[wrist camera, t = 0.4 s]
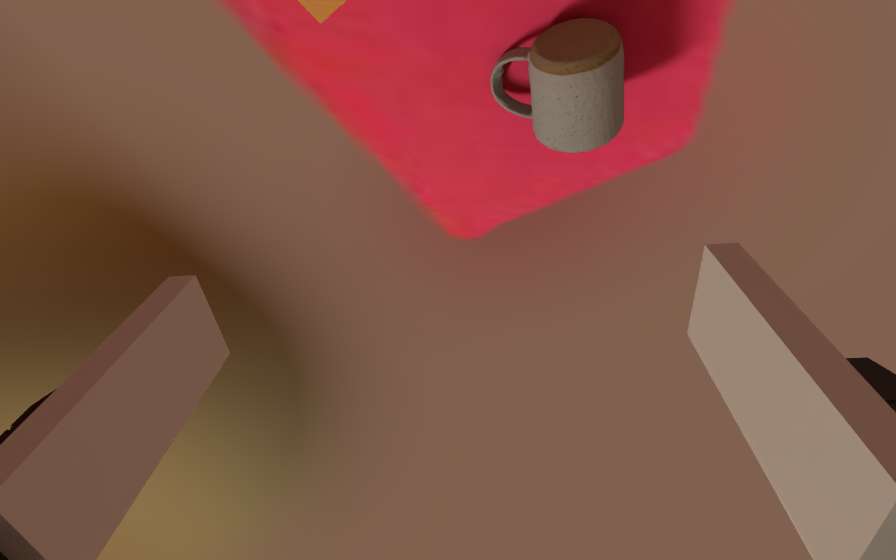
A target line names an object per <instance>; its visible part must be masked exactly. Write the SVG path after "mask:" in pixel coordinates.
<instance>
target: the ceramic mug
mask: <svg viewBox="0 0 896 560" xmlns="http://www.w3.org/2000/svg"><path fill="white" fill-rule="evenodd" d="M517 60H520V61H522V60H526V61H528V62H529V80H530V88H531V105H528V104H524V103H521V102H518V101H516V100H514V99H513V98H512V97H510V96H509V95H508V94H507V93H506V92H505V90H504V88H503V82H502V73H503V72H504V68H503V65H504V64H506V63H508V62H511V61H517ZM491 90H492V93H493V96H494V98H495V99H496V101H497V102H498V103H499V104H500V105H501V106H502V107H503V108H504V109H506V110H508V111H509V112H511V113H513V114H516V115H518V116H521V117H526V118H531V119H532V120H533V130H534V133H535V135H536V138H537V139H538V140H539V141H540V142H541V143H542V144H543V145H545V146H547V147H548V148H551V149H554V150H556V151H562V152H569V153H574V152H585V151H589V150H593V149H596V148H598V147H600V146H603V145H605V144H607V143H608V142H610V141H611V140H612V139H613V138H614V137H615V136H616V135H617V134H618V133H619V131H620V129H621V127H622V125H623V121H624V49H623V44H622V38H621V35H620V33H619V31H618V30H617V29H616V28H615V27H614V26H613V25H611V24H609V23H607V22H605V21H603V20H599V19H595V18H578V19H571V20H567V21H564V22H561V23H558V24H556V25H554V26H552V27H550V28H548V29H547V30H545V31H544V32H543V33H542V34H541V35H540V36H539V37H538V38H537V39H536V40H535V42H534V43H533V45H532V47H531V48H527V47H519V48H516V49H512V50H510V51H507V52H506V53H504V54H503V55H502V56H501V57H500V58H499V59H498V61H497V63H496V65H495V67H494V69H493V71H492V74H491Z"/></svg>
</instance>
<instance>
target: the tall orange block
mask: <svg viewBox="0 0 896 560" xmlns="http://www.w3.org/2000/svg"><path fill="white" fill-rule="evenodd" d="M298 1H299V2H300V3H301V4H302V5H303V6H304V7H305V8H306V9H307V10H308V11H309V12H310V13H311V14H312V15H313V16H314V17H315V18H316V19H317V20H318V21H319V22H320V23H322V22H323V21H324V20H325V19H326V18H327V17H329V16H330V15H331V14H332V13H333V12H334V11H335V10H336V9H337V8H339V7H340V6H341V5H342V4H343V3H344V2H345V1H346V0H298Z"/></svg>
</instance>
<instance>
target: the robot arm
mask: <svg viewBox="0 0 896 560" xmlns="http://www.w3.org/2000/svg"><path fill="white" fill-rule="evenodd" d="M687 334H688V336H689V338H690V340H691V342H692V343H693V345H694V346H695V349H696V351H697V352H698V354H699V356H700V358H701V359H702V361H703V363H704V365H705V367H706V368H707V370H708V372H709V374H710V376H711V377H712V379H713V381H714V383H715V384H716V386H717V388H718V390H719V392H720V394H721V395H722V397H723V399H724V401H725V402H726V404H727V406H728V408H729V410H730V411H731V413H732V415H733V417H734V419H735V420H736V422H737V424H738V426H739V427H740V429H741V431H742V433H743V435H744V436H745V438H746V440H747V442H748V444H749V445H750V447H751V449H752V451H753V453H754V454H755V456H756V458H757V460H758V461H759V463H760V465H761V467H762V469H763V470H764V472H765V474H766V476H767V478H768V479H769V481H770V483H771V485H772V487H773V488H774V490H775V492H776V494H777V495H778V497H779V499H780V501H781V503H782V505H783V506H784V508H785V510H786V512H787V513H788V515H789V517H790V519H791V521H792V522H793V524H794V526H795V528H796V530H797V531H798V533H799V535H800V537H801V539H802V540H803V542H804V544H805V546H806V547H807V549H808V551H809V553H810V555H811V556H812V558H813V560H896V374H894V373H892V372H891V371H889V370H887V369H886V368H884V367H882V366H881V365H879V364H877V363H876V362H874V361H872V360H871V359H869V358H845V357H844V356H843V355H842V354H841V353H840V352H839V351H838V350H837V349H836V348H835V347H834V345H833V344H832V343H831V342H830V341H829V340H828V339H827V338H826V337H825V336H824V335H823V334H822V333H821V331H820V330H819V329H818V328H817V327H816V326H815V325H814V324H813V323H812V322H811V321H810V320H809V318H808V317H807V316H806V315H805V314H804V313H803V312H802V311H801V310H800V309H799V308H798V307H797V306H796V305H795V303H794V302H793V301H792V300H791V299H790V298H789V297H788V296H787V295H786V294H785V293H784V292H783V290H782V289H781V288H780V287H779V286H778V285H777V284H776V283H775V282H774V281H773V280H772V279H771V278H770V276H769V275H768V274H767V273H766V272H765V271H764V270H763V269H762V268H761V267H760V266H759V265H758V264H757V262H756V261H755V260H754V259H753V258H752V257H751V256H750V255H749V254H748V253H747V252H746V251H745V250H744V248H743V247H742V246H741V245H740V244H739V243H728V244H711V245H705V248H704V253H703V258H702V263H701V268H700V273H699V278H698V283H697V288H696V293H695V298H694V303H693V308H692V313H691V318H690V323H689V328H688V333H687ZM229 354H230V352H229V350H228V348H227V346H226V343H225V341H224V339H223V336H222V334H221V332H220V330H219V328H218V325H217V323H216V321H215V318H214V316H213V314H212V312H211V309H210V307H209V305H208V303H207V300H206V298H205V296H204V294H203V291H202V289H201V287H200V284H199V282H198V280H197V278H196V276H195V275H194V276H178V277H168V278H167V279H166V280H165V281H164V283H162V284H161V285H160V287H158V288H157V289H156V290H155V291H154V292H153V294H151V295H150V296H149V297H148V298H147V299H146V300H145V301H144V302H143V303H142V304H141V305H140V306H139V307H138V308H137V309H136V310H135V311H134V312H133V313H132V314H131V315H130V316H129V317H128V318H127V319H126V320H125V321H124V322H123V323H122V324H121V325H120V326H119V327H118V328H117V329H116V330H115V331H114V332H113V333H112V334H111V335H110V336H109V337H108V338H107V339H106V340H105V341H104V342H103V343H102V344H101V345H100V346H99V347H98V348H97V349H96V350H95V351H94V352H93V353H92V354H91V355H90V356H89V357H88V358H87V359H86V360H85V361H84V362H83V363H82V364H81V365H80V366H79V367H78V368H77V369H76V370H75V371H74V372H73V373H72V374H71V375H70V376H69V377H68V378H67V379H66V380H65V381H64V382H63V383H62V384H61V385H60V386H59V387H58V388H57V389H55V390H54V391H53V392H51V393H49V394H48V395H46V396H45V397H43V398H42V399H40V400H39V401H38V402H36V403H35V404H33V405H32V406H30V407H29V408H28V409H27V410H26V411H25V412H24V413H23V414H22V415H21V416H20V417H19V418H18V419H17V420H16V421H15V422H14V423H13V424H12V425H11V429H10V430H6V431H5V432H4V433H3V434H2V435H1V436H0V560H96V559H97V557H98V556H99V554H100V553H101V551H102V550H103V548H104V547H105V545H106V543H107V542H108V540H109V539H110V537H111V536H112V534H113V533H114V531H115V530H116V528H117V527H118V525H119V524H120V522H121V520H122V519H123V517H124V516H125V514H126V513H127V511H128V510H129V508H130V507H131V505H132V503H133V502H134V500H135V499H136V497H137V496H138V494H139V492H140V491H141V489H142V488H143V486H144V485H145V483H146V482H147V480H148V479H149V477H150V476H151V474H152V473H153V471H154V470H155V468H156V467H157V465H158V463H159V462H160V460H161V459H162V457H163V456H164V454H165V453H166V451H167V450H168V448H169V446H170V445H171V443H172V442H173V440H174V438H175V437H176V436H177V434H178V433H179V431H180V429H181V428H182V426H183V425H184V423H185V422H186V420H187V419H188V417H189V415H190V414H191V413H192V411H193V409H194V408H195V406H196V405H197V403H198V402H199V400H200V399H201V397H202V396H203V394H204V393H205V391H206V389H207V388H208V386H209V385H210V383H211V382H212V380H213V379H214V377H215V376H216V374H217V373H218V371H219V369H220V368H221V366H222V365H223V363H224V362H225V360H226V359H227V357H228V356H229Z"/></svg>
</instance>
